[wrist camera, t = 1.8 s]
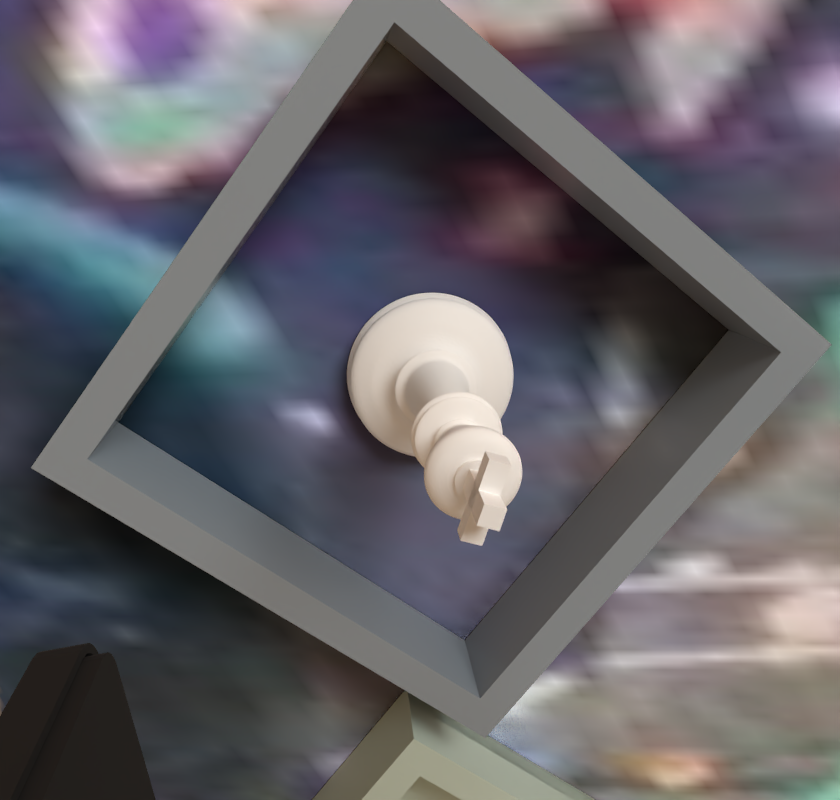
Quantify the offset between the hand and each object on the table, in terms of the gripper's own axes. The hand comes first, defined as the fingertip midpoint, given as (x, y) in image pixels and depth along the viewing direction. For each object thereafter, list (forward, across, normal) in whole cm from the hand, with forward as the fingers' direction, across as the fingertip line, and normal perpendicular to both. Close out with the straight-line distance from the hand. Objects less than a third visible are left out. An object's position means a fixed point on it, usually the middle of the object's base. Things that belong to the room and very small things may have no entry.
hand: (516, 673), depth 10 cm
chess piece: (+15, -1, 0) cm, 15 cm away
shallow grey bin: (+15, -1, 0) cm, 15 cm away
